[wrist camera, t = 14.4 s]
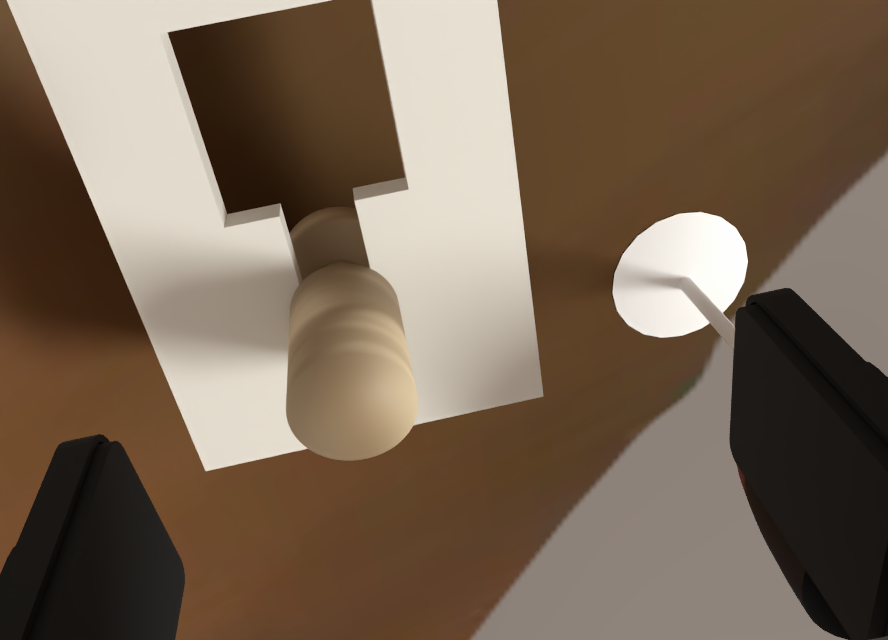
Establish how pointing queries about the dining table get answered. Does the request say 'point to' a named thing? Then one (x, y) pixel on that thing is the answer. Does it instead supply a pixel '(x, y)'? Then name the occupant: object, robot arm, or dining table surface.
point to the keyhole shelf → (265, 230)
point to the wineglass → (691, 308)
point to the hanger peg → (345, 345)
